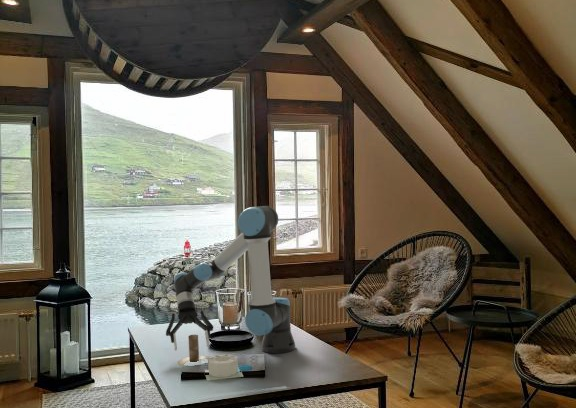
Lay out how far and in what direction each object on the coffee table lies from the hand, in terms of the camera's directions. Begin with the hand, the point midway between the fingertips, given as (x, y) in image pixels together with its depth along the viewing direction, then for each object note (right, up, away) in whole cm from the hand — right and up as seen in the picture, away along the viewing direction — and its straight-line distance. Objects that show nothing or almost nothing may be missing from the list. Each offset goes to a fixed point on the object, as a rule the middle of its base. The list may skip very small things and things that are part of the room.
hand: (192, 346), depth 240 cm
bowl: (+15, -6, -16) cm, 23 cm away
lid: (+1, -7, 0) cm, 7 cm away
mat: (+15, -7, -16) cm, 23 cm away
